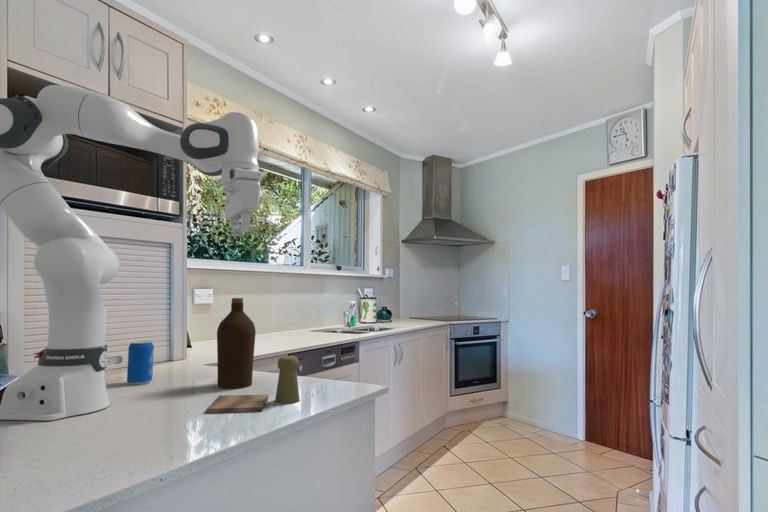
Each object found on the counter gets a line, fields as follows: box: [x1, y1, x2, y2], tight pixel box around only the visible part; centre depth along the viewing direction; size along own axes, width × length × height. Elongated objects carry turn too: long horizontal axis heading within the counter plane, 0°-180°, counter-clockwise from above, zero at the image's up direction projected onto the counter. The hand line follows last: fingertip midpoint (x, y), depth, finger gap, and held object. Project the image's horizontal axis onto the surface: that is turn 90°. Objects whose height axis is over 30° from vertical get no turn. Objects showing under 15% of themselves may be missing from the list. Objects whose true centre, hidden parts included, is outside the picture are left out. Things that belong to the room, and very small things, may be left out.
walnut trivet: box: [206, 393, 269, 414], centre depth 105 cm, size 12×12×1 cm
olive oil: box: [216, 297, 257, 390], centre depth 127 cm, size 11×11×25 cm
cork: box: [274, 355, 300, 405], centre depth 110 cm, size 6×6×11 cm
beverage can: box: [126, 340, 155, 386], centre depth 129 cm, size 6×6×12 cm
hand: (240, 233), depth 109 cm, fingers open, 8 cm apart
